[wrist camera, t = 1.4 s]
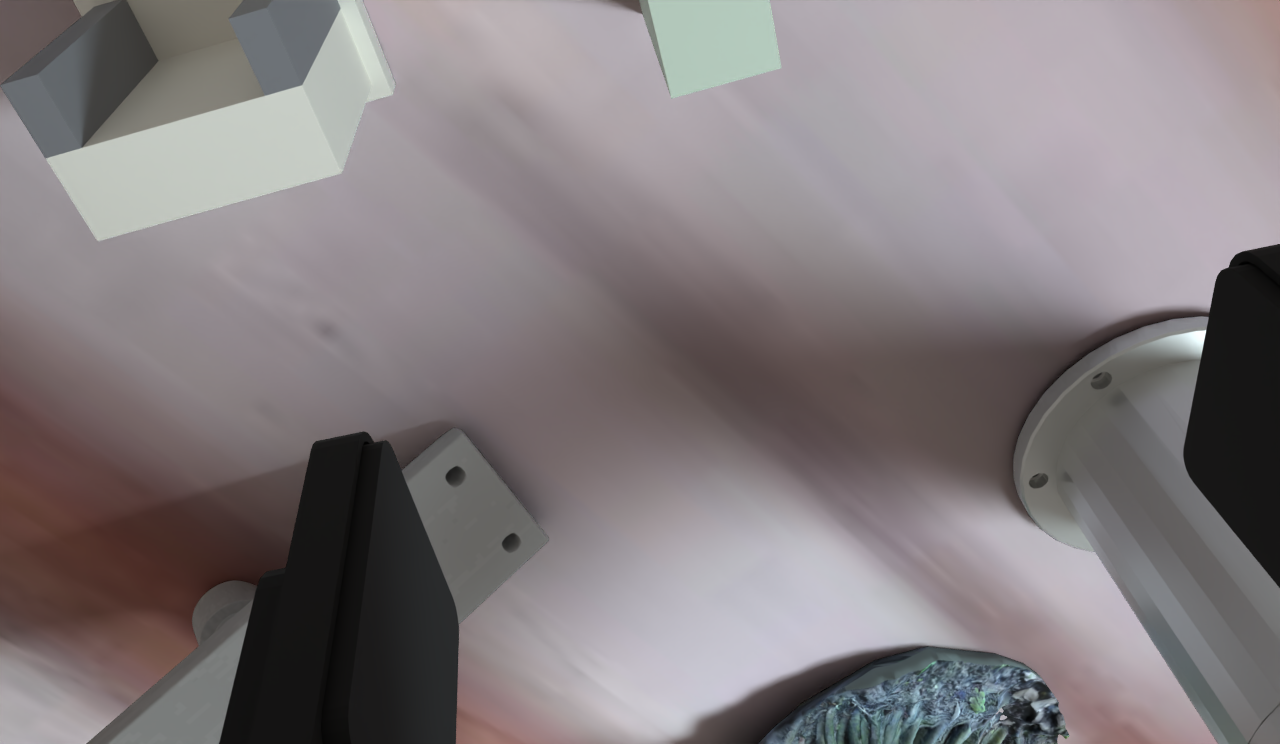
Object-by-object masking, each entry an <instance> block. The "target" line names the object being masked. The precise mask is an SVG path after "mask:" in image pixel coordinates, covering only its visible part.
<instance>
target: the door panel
mask: <svg viewBox="0 0 1280 744" xmlns="http://www.w3.org/2000/svg"><path fill="white" fill-rule="evenodd" d="M639 2H640V6H641V10H642V14H643V17H644V20H645V23H646V26H647V29H648V32H649V35H650V37H651V40H652V43H653V46H654V49H655V52H656V55H657V58H658V61H659V64H660V67H661V70H662V72H663V75H664V78H665V81H666V84H667V87H668V90H669V93H670V96H671V99H672V98H676V97H679V96H683V95H686V94H690V93H694V92H697V91H701V90H704V89H708V88H712V87H715V86H719V85H722V84H726V83H730V82H733V81H737V80H740V79H744V78H747V77H751V76H755V75H758V74H762V73H765V72H769V71H773V70H776V69H780V68H781V63H780V57H779V51H778V45H777V40H776V34H775V28H774V22H773V16H772V11H771V5H770V0H639Z"/></svg>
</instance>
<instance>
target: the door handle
mask: <svg viewBox="0 0 1280 744" xmlns="http://www.w3.org/2000/svg"><path fill="white" fill-rule="evenodd" d="M402 473H403V476H404V478H405V481H406V483H407V486H408V488H409V491H410V493H411V495H412V498H413V500H414V503H415V505H416V508H417V510H418V513H419V515H420V518H421V520H422V523H423V525H424V528H425V530H426V532H427V535H428V537H429V540H430V542H431V545H432V547H433V550H434V552H435V555H436V557H437V560H438V562H439V564H440V567H441V569H442V572H443V574H444V577H445V579H446V582H447V584H448V587H449V589H450V592H451V594H452V596H453V599H454V602H455V606H456V610H457V616H458V624H460V623H461V622H462V621H463V620H464V619H465V618H466V617H467V616H468V615H470V614H471V613H472V612H473V611H474V610H475V609H476V608H477V607H478V606H479V605H480V604H481V603H482V602H483V601H485V600H486V599H487V598H488V597H489V596H490V595H491V594H492V593H493V592H494V591H495V590H496V589H497V588H499V587H500V586H501V585H502V584H503V583H504V582H505V581H506V580H507V579H508V578H509V577H510V576H511V575H512V574H514V573H515V572H516V571H517V570H518V569H519V568H520V567H521V566H522V565H523V564H524V563H525V562H526V561H528V560H529V559H530V558H531V557H532V556H533V555H534V554H535V553H536V552H537V551H538V550H539V549H540V548H541V547H543V546H544V545H545V544H546V543H547V542H548V540H549V538H548V536H547V535H546V534H545V532H544V531H543V530H542V529H541V527H540V526H539V525H538V524H537V522H536V521H535V520H534V519H533V518H532V516H531V515H530V514H529V513H528V511H527V510H526V509H525V508H524V506H523V505H522V504H521V503H520V501H519V500H518V499H517V498H516V496H515V495H514V494H513V493H512V491H511V490H510V489H509V488H508V487H507V485H506V484H505V483H504V482H503V480H502V479H501V478H500V477H499V475H498V474H497V473H496V472H495V470H494V469H493V468H492V467H491V465H490V464H489V463H488V462H487V461H486V459H485V458H484V457H483V456H482V454H481V453H480V452H479V451H478V449H477V448H476V447H475V446H474V444H473V443H472V442H471V441H470V439H469V438H468V437H467V436H466V434H465V433H464V432H463V431H462V430H460V429H458V428H453V429H451V430H449V431H448V432H446V433H445V434H443V435H442V436H441V437H440V438H439V439H437V440H436V441H435V442H434V443H433V444H432V445H430V446H429V447H428V448H427V449H426V450H425V451H424V452H422V453H421V454H420V455H419V456H418V457H417V458H415V459H414V460H413V461H412V462H411V463H410V464H409V465H407V466H406V467H405V468H404V469H403V470H402ZM256 588H257V586H255V585H253V584H250V583H247V582H243V581H228V582H224V583H221V584H219V585H217V586H215V587H213V588H212V589H210V590H209V591H208V592H206V593H205V594H204V595H203V596H202V598H201V599H200V600H199V602H198V603H197V605H196V607H195V609H194V612H193V617H192V625H193V630H194V633H195V636H196V639H197V641H198V644H199V647H197V648H196V649H195V650H194V651H193V652H192V653H191V654H189V655H188V656H187V657H186V658H185V659H184V660H182V661H181V662H180V663H179V664H178V665H177V666H176V667H174V668H173V669H172V670H171V671H170V672H169V673H167V674H166V675H165V676H164V677H163V678H162V679H161V680H159V681H158V682H157V683H156V684H155V685H154V686H152V687H151V688H150V689H149V690H148V691H147V692H146V693H144V694H143V695H142V696H141V697H140V698H139V699H137V700H136V701H135V702H134V703H133V704H132V705H131V706H129V707H128V708H127V709H126V710H125V711H124V712H122V713H121V714H120V715H119V716H118V717H117V718H116V719H114V720H113V721H112V722H111V723H110V724H109V725H107V726H106V727H105V728H104V729H103V730H102V731H101V732H99V733H98V734H97V735H96V736H95V737H94V738H92V739H91V740H90V741H89V742H88V743H87V744H219V742H220V737H221V733H222V729H223V725H224V721H225V717H226V712H227V708H228V704H229V700H230V696H231V692H232V687H233V683H234V679H235V675H236V671H237V667H238V662H239V658H240V654H241V650H242V646H243V642H244V637H245V633H246V629H247V625H248V621H249V617H250V612H251V608H252V604H253V600H254V596H255V592H256Z"/></svg>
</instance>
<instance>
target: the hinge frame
mask: <svg viewBox="0 0 1280 744" xmlns="http://www.w3.org/2000/svg"><path fill="white" fill-rule="evenodd" d="M73 2H74V4H75V5H76V7H77V9H78V11H79V13H80V14H81V16H82V17H81V18H80V19H79V20H78V21H76V22H75V23H74V24H73V25H72V26H70V27H69V28H68V29H67V30H66V31H64V32H63V33H62V34H61V35H60V36H58V37H57V38H56V39H55V40H54V41H52V42H51V43H50V44H49V45H48V46H46V47H45V48H44V49H43V50H42V51H40V52H39V53H38V54H37V55H36V56H34V57H33V58H32V59H31V60H30V61H28V62H27V63H26V64H25V65H24V66H22V67H21V68H20V69H19V70H18V71H16V72H15V73H14V74H13V75H12V76H10V77H9V78H8V79H7V80H6V81H4V82H3V83H2V84H1V85H0V87H1V88H2V90H3V91H4V93H5V95H6V96H7V98H8V99H9V101H10V103H11V104H12V106H13V107H14V109H15V111H16V112H17V114H18V115H19V117H20V118H21V120H22V122H23V123H24V125H25V126H26V128H27V130H28V131H29V133H30V134H31V136H32V138H33V139H34V141H35V142H36V144H37V146H38V147H39V149H40V150H41V152H42V154H43V155H44V157H45V158H46V160H47V162H48V163H49V165H50V166H51V168H52V170H53V171H54V173H55V174H56V176H57V178H58V179H59V181H60V182H61V184H62V186H63V187H64V189H65V190H66V192H67V193H68V195H69V197H70V198H71V200H72V201H73V203H74V205H75V206H76V208H77V209H78V211H79V213H80V214H81V216H82V217H83V219H84V221H85V222H86V224H87V225H88V227H89V229H90V230H91V232H92V233H93V235H94V237H95V238H96V240H97V241H101V240H105V239H108V238H112V237H116V236H119V235H123V234H126V233H130V232H133V231H137V230H141V229H144V228H148V227H151V226H155V225H159V224H162V223H166V222H169V221H173V220H176V219H180V218H184V217H187V216H191V215H194V214H198V213H202V212H205V211H209V210H212V209H216V208H220V207H223V206H227V205H230V204H234V203H237V202H241V201H245V200H248V199H252V198H255V197H259V196H263V195H266V194H270V193H273V192H277V191H280V190H284V189H288V188H291V187H295V186H298V185H302V184H306V183H309V182H313V181H316V180H320V179H324V178H327V177H331V176H334V175H338V174H341V173H342V172H343V169H344V166H345V163H346V160H347V157H348V154H349V151H350V148H351V145H352V143H353V140H354V137H355V134H356V131H357V128H358V125H359V122H360V119H361V116H362V113H363V110H364V107H365V104H366V102H370V101H373V100H377V99H380V98H384V97H387V96H391V95H393V92H394V89H395V85H396V84H395V81H394V79H393V76H392V74H391V71H390V69H389V66H388V64H387V61H386V59H385V56H384V54H383V51H382V49H381V46H380V44H379V41H378V39H377V36H376V34H375V31H374V29H373V26H372V24H371V21H370V19H369V16H368V14H367V11H366V8H365V6H364V3H363V1H362V0H73Z"/></svg>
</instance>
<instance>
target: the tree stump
mask: <svg viewBox="0 0 1280 744" xmlns="http://www.w3.org/2000/svg"><path fill="white" fill-rule="evenodd" d="M1058 703H1059V702H1058V701H1057V699H1056V698H1055V696H1054V695H1053V693H1052V692H1051V691H1050V689H1049V688H1048V687H1047V685H1046V684H1045V683H1044V681H1043V680H1042V678H1041V677H1040V676H1039V675H1038V674H1037V673H1036V672H1035V671H1033V670H1032V669H1030V668H1029V667H1028V666H1026V665H1025V664H1023V663H1021V662H1018V661H1015V660H1012V659H1010V658H1007V657H1004V656H1001V655H998V654H995V653H985V652H976V651H966V650H957V649H947V648H937V647H928V646H927V647H923V648H919V649H916V650H912V651H908V652H904V653H901V654H897V655H893V656H889V657H885V658H882V659H878V660H875V661H873V662H871V663H870V664H868V665H866V666H864V667H863V668H861V669H859V670H858V671H856V672H854V673H853V674H851V675H849V676H847V677H846V678H844V679H842V680H841V681H839V682H837V683H835V684H834V685H832V686H830V687H829V688H827V689H825V690H824V691H822V692H820V693H818V694H817V695H815V696H813V697H812V698H810V699H808V700H806V701H805V702H803V703H801V704H800V705H799V706H798V707H797V708H796V709H795V710H794V711H793V712H792V713H791V714H789V715H788V716H787V717H786V718H785V719H783V720H782V721H781V722H780V723H779V724H777V725H776V726H775V727H774V728H773V729H772V730H771V731H770V732H769V733H768V734H767V735H766V736H765V737H764V738H763V739H762V740H761V741H760V742H759V743H758V744H1057V738H1058V735H1059V734H1060V735H1062V736H1063V737H1064V738H1065V739H1067V737H1069V734H1068V732H1067V730H1066V728H1065V721H1064V717H1063V715H1062V714H1061V713H1060V711H1059V708H1058ZM1001 708H1002V709H1003V710H1004V712H1003V713H1001V712H999V713H998V714H997V715H996V713H997V712H998V710H999V709H1001ZM1001 715H1004V716H1007V719H1005V720H1000V716H1001Z"/></svg>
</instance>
